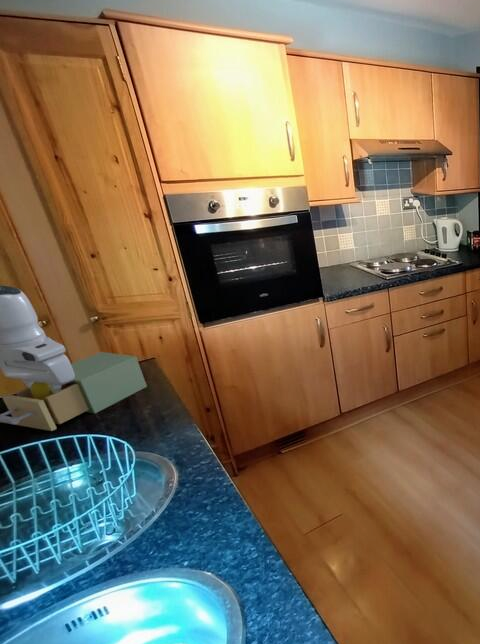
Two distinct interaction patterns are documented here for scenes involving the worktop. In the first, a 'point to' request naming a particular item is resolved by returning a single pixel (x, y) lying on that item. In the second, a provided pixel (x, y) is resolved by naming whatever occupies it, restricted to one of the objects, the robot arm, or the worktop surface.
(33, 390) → the lemon
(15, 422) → the drawer
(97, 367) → the cabinet
